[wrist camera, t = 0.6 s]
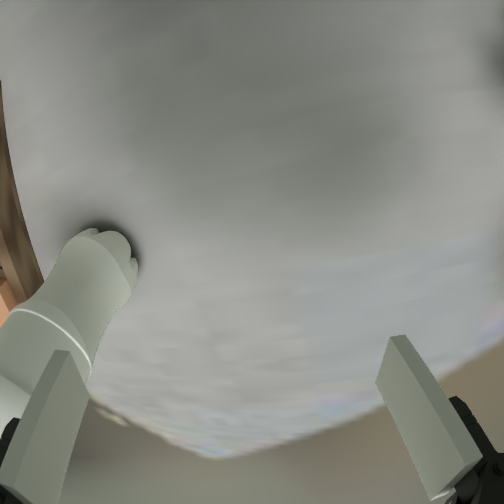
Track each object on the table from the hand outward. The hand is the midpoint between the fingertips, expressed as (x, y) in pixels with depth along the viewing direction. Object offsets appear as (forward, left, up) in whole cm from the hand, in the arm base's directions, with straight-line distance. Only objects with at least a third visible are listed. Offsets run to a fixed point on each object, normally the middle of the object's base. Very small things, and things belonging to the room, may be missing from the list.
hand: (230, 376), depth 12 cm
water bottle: (+5, -13, -15) cm, 20 cm away
